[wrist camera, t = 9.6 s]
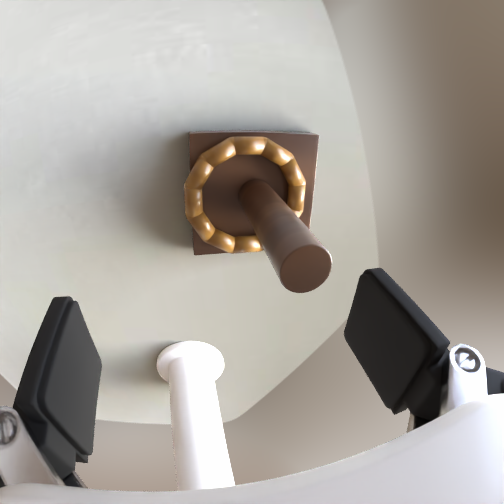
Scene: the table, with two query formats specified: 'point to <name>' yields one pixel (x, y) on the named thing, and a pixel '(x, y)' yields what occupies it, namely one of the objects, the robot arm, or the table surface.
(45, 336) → the robot arm
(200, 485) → the candle
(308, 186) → the post
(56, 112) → the table surface
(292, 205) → the ring
